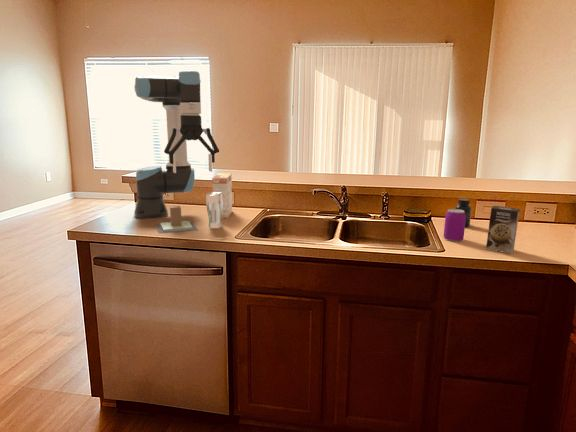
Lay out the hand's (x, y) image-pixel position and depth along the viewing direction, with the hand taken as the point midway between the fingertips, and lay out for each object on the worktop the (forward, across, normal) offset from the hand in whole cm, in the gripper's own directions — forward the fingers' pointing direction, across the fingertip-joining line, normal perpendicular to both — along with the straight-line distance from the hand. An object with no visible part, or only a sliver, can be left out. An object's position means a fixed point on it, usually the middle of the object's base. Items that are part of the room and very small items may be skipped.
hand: (192, 171), depth 167 cm
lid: (+26, -5, +19) cm, 33 cm away
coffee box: (+26, +105, -52) cm, 120 cm away
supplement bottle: (+27, +118, -18) cm, 122 cm away
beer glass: (+27, +11, +15) cm, 33 cm away
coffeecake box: (+27, +20, +38) cm, 51 cm away
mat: (+27, -5, +19) cm, 33 cm away
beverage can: (+27, +98, -35) cm, 107 cm away
